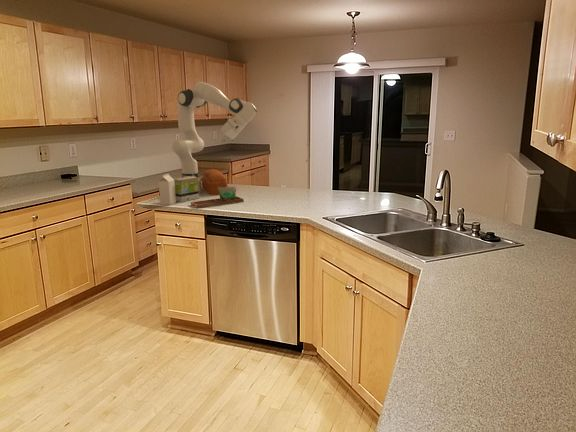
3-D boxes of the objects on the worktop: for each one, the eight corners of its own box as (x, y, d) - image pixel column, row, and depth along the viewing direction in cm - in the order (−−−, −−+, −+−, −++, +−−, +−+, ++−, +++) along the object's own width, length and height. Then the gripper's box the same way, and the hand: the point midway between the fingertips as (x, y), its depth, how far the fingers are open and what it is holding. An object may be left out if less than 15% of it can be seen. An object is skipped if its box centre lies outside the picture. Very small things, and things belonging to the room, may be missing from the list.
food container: (219, 203, 271) (218, 188, 269) (218, 201, 277) (217, 186, 275) (238, 202, 274) (238, 187, 272) (237, 200, 280) (236, 185, 278)
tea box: (182, 202, 276) (180, 179, 273) (172, 200, 282) (170, 178, 278) (199, 198, 288) (198, 176, 284) (190, 196, 294) (188, 175, 290)
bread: (218, 186, 332) (217, 166, 328) (229, 194, 302) (228, 172, 298) (201, 187, 327) (199, 167, 323) (209, 195, 297) (208, 173, 293)
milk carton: (176, 202, 275) (173, 173, 270) (170, 205, 268) (167, 175, 264) (166, 202, 277) (163, 173, 272) (160, 204, 270) (157, 174, 266)
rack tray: (191, 205, 268) (190, 202, 267) (236, 199, 284) (236, 196, 284) (197, 208, 259) (197, 205, 259) (243, 201, 276) (243, 198, 275)
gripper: (237, 124, 278) (223, 140, 279) (228, 117, 257) (212, 134, 259) (244, 131, 277) (229, 146, 279) (235, 125, 257) (219, 141, 258)
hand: (221, 140), depth 269 cm, fingers open, 8 cm apart
